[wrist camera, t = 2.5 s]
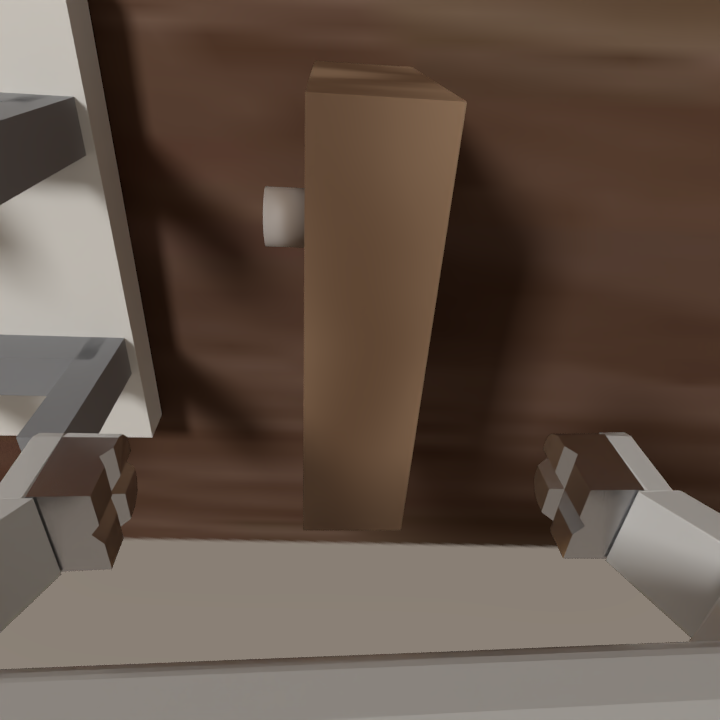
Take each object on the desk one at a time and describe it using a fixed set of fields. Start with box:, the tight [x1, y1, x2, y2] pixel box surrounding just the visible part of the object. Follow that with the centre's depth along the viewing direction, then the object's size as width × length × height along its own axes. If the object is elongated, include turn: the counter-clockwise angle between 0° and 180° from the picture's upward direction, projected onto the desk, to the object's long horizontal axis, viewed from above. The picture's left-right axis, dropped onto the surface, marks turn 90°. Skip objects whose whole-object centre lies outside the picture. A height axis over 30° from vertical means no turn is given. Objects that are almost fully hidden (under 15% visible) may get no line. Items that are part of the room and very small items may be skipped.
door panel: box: [263, 61, 467, 530], centre depth 16 cm, size 4×12×8 cm, turn 177°
